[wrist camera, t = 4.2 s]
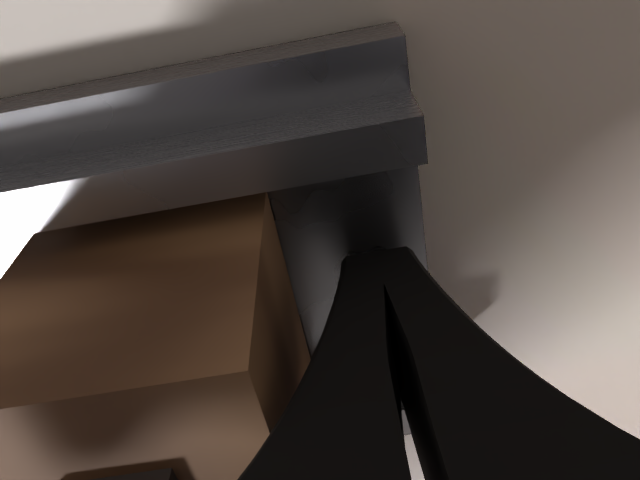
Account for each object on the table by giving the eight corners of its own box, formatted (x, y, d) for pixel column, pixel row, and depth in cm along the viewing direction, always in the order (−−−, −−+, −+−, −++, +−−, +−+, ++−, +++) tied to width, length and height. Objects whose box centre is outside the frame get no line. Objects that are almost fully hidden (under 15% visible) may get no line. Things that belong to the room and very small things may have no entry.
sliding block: (124, 397, 13) (47, 630, 9) (35, 230, 11) (-125, 447, 7) (313, 368, 13) (320, 596, 9) (265, 189, 10) (245, 390, 6)
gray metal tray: (-75, 457, 16) (-125, 535, 14) (-334, 163, 11) (-464, 222, 9) (433, 381, 15) (452, 454, 13) (396, 21, 10) (419, 55, 8)
